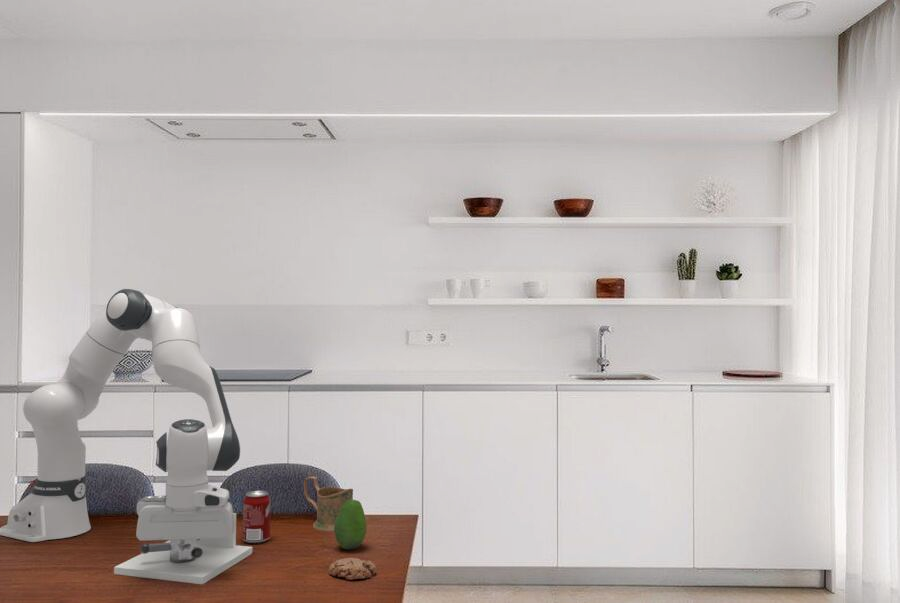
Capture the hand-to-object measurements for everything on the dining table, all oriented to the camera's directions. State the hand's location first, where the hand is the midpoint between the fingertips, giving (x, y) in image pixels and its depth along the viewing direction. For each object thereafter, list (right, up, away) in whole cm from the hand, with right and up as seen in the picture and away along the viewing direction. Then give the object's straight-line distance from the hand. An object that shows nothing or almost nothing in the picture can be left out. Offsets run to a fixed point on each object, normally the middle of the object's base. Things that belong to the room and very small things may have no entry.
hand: (185, 558), depth 160 cm
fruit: (+33, -5, +20) cm, 39 cm away
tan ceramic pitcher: (+24, -5, +41) cm, 48 cm away
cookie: (+36, -5, +3) cm, 37 cm away
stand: (-3, -4, +9) cm, 10 cm away
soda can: (+9, -5, +25) cm, 27 cm away
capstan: (-2, -2, +5) cm, 5 cm away
